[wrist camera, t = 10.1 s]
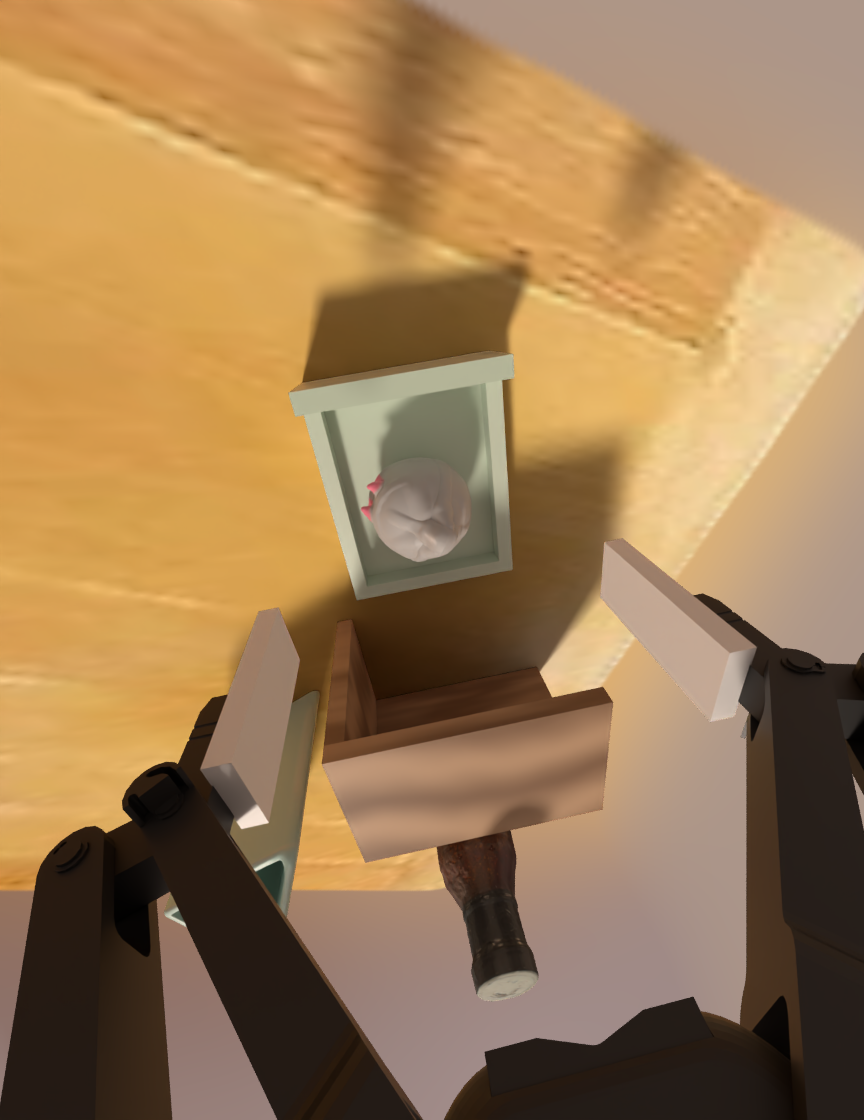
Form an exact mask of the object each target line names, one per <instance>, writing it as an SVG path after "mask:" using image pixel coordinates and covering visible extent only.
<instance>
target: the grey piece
mask: <svg viewBox="0 0 864 1120" xmlns="http://www.w3.org/2000/svg"><path fill="white" fill-rule="evenodd" d="M319 697H320V693H319V691H312V692H310V693H308V694H306V695H304V696H303V697H301V698H300V699H298V700H296V701H294V702H293V703H292V705H291V710H290V715H289V720H288V726H287V731H286V736H285V741H284V747H283V752H282V757H281V762H280V767H279V773H278V778H277V783H276V788H275V794H274V799H273V804H272V809H271V814H270V820H269V823H266V824H262V825H257V826H253V827H248V828H244V829H241V828H240V826H239V825H238V823H237V822H236V820H235V819H233V823H232V827H231V831H230V835H231V836H232V837H233V839H234V840H235V842H236V843H237V845H238V846H239V848H240V849H241V851H242V852H243V854H244V855H245V857H246V858H247V860H248V861H249V863H250V864H251V866H252V867H253V869H254V870H255V872H256V873H257V875H258V876H259V878H260V879H261V881H262V882H263V884H264V885H265V886H266V888H267V889H268V891H269V892H270V894H271V895H272V897H273V898H274V900H275V901H276V903H277V904H278V906H279V907H280V909H281V910H282V912H283V913H284V915H285V916H286V918H287V913H288V908H289V902H290V896H291V890H292V885H293V879H294V874H295V868H296V862H297V856H298V850H299V843H300V836H301V829H302V821H303V814H304V807H305V799H306V792H307V785H308V777H309V770H310V763H311V755H312V748H313V741H314V733H315V726H316V719H317V711H318V704H319ZM164 914H165V916H166V917H168V918H170V919H172V920H174V921H176V922H178V923H179V924H181V925H183V926H185V927H187V926H186V924H185V922H184V920H183V918H182V916H181V914H180V912H179V909H178V907H177V905H176V903H175V901H174V899H173V897H172V895H171V893H170V896H169V899H168V902H167V905H166V908H165V910H164Z"/></svg>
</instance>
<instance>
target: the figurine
mask: <svg viewBox="0 0 864 1120" xmlns="http://www.w3.org/2000/svg"><path fill="white" fill-rule="evenodd" d="M367 489H369V490H370V492H369V504H368V506H363V507H362V508H361V511H362V512H363V513H364V515H365V516H367V517H368V519H369V520H370V521H371V522H372V523H373V525H374V528H375V530H376V532H377V534H378V536H379V537H380V539H381V540H382V541H383V542H384V543H385V544H386V545H387V546H388V547H389V548H390V549H392V550H393V551H395V552H396V553H398V554H400V555H402V556H403V557H406V558H408V559H411V560H412V561H416V562H423V561H426V560H428V559H432V558H437V557H441V556H444V555H446V554H448V553H449V552H450V551H451V550H452V549H453V548H454V547H455V546H456V545H457V544H458V543H459V542H460V540H461V539H462V538H463V537H464V536H465V534H466V533H467V531H468V528H469V525H470V521H471V497H470V493H469V489H468V487H467V484H466V483H465V481H464V479H463V478H462V477H461V476H460V475H459V474H458V473H457V471H456V470H455V469H453V468H452V467H451V466H450V465H448V464H447V463H445V462H444V461H441V460H437V459H431V458H423V457H416V458H409V459H404V460H400V461H398V462H395V463H393V464H391V465H390V466H388V467H386V468H385V469H384V470H383V471H381V473H380V474H379V475H378V476H377V478H376V480H375V482H372V483H370V484H368V485H367Z"/></svg>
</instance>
